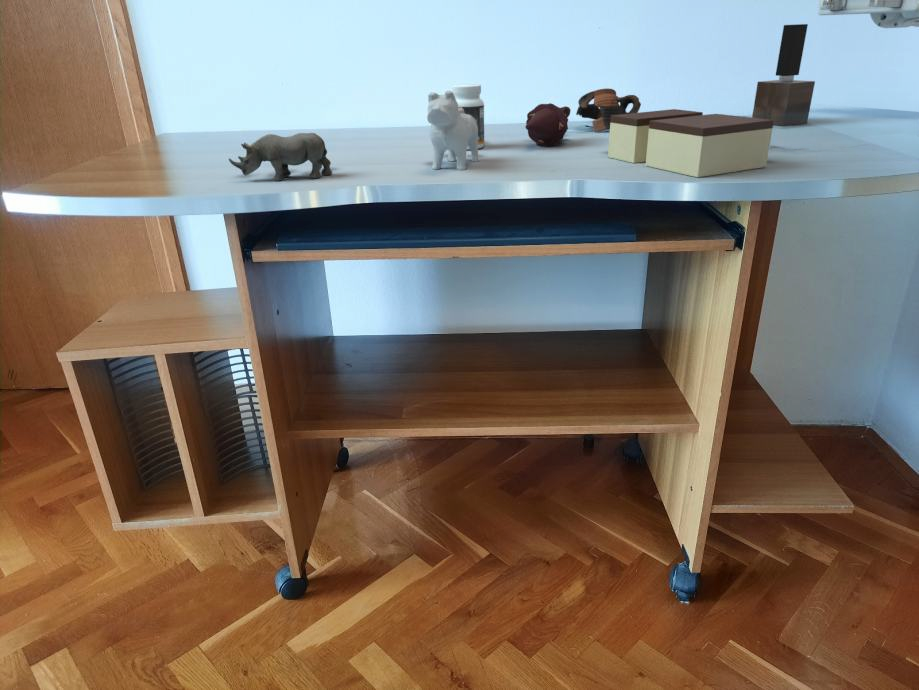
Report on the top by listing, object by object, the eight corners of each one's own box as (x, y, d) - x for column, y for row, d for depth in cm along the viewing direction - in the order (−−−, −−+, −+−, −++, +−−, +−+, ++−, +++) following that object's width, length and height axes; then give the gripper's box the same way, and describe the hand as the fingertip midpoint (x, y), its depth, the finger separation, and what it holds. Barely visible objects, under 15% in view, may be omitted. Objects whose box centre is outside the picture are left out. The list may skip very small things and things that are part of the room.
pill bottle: (449, 150, 107) (446, 87, 103) (454, 145, 112) (451, 84, 108) (482, 150, 106) (481, 86, 102) (486, 144, 111) (485, 83, 107)
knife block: (806, 129, 115) (815, 81, 111) (782, 132, 112) (790, 83, 109) (773, 125, 120) (781, 79, 117) (750, 128, 118) (757, 81, 115)
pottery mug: (579, 135, 120) (571, 93, 121) (584, 151, 129) (577, 112, 130) (644, 117, 117) (635, 74, 118) (645, 134, 126) (637, 94, 127)
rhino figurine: (235, 178, 91) (227, 134, 89) (332, 172, 93) (327, 129, 90) (230, 184, 88) (222, 139, 85) (331, 178, 89) (326, 133, 87)
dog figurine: (421, 174, 90) (415, 93, 85) (449, 158, 100) (446, 85, 96) (457, 175, 88) (453, 92, 83) (482, 158, 99) (480, 84, 94)
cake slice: (697, 154, 96) (703, 112, 93) (633, 163, 91) (637, 119, 89) (670, 149, 101) (674, 109, 98) (607, 157, 96) (610, 115, 94)
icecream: (553, 110, 98) (589, 109, 110) (512, 97, 101) (552, 97, 113) (540, 155, 102) (577, 149, 113) (501, 141, 104) (541, 136, 116)
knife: (790, 122, 116) (808, 24, 109) (778, 124, 114) (795, 24, 107) (779, 121, 117) (796, 24, 111) (767, 123, 116) (783, 24, 109)
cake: (766, 167, 86) (774, 120, 83) (697, 177, 81) (703, 128, 79) (710, 156, 94) (716, 113, 91) (645, 165, 89) (649, 120, 87)
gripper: (850, -15, 124) (800, -14, 119) (963, -24, 108) (910, -23, 103) (843, 22, 127) (793, 24, 122) (951, 18, 110) (899, 21, 105)
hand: (847, 2), depth 112 cm, fingers open, 8 cm apart
